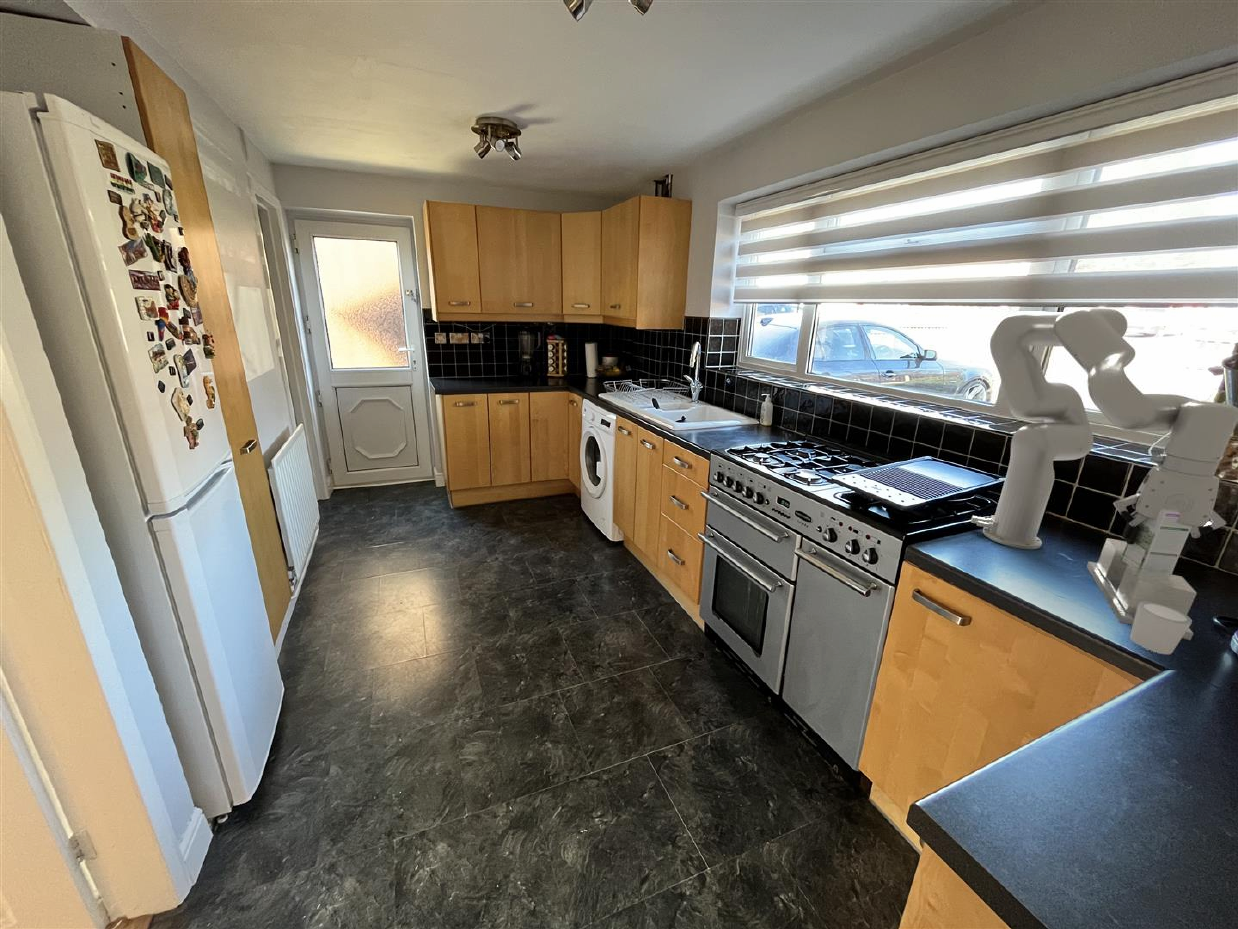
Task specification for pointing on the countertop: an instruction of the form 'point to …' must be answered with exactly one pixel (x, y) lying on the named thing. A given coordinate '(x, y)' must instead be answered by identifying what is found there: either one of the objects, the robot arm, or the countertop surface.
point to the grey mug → (1158, 627)
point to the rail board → (1137, 585)
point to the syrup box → (1157, 543)
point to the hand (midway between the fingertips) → (1153, 546)
